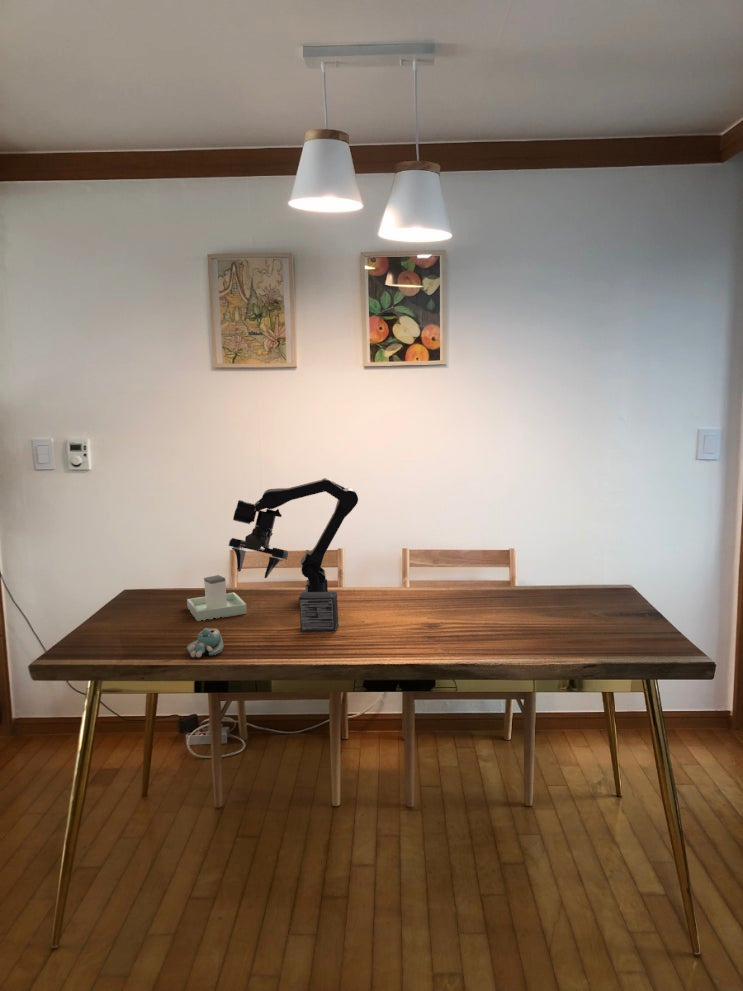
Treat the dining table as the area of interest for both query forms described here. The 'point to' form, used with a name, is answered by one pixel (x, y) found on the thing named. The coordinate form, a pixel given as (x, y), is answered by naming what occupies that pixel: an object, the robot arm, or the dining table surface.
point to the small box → (318, 611)
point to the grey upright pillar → (215, 592)
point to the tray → (202, 613)
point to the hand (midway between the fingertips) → (252, 574)
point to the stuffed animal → (206, 643)
